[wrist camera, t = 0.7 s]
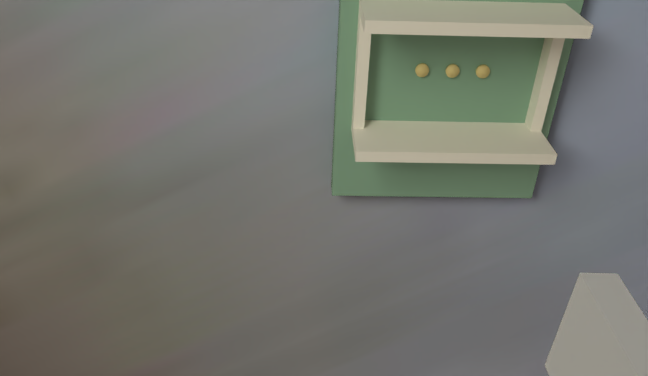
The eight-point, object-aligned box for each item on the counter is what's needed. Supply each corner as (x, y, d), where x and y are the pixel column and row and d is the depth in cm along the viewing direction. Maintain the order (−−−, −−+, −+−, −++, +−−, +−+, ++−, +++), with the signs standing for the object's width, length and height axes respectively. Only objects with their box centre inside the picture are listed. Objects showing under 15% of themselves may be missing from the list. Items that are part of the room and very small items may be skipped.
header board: (344, -106, 28) (350, -90, 24) (598, -98, 28) (645, -81, 24) (331, 184, 36) (334, 231, 32) (525, 187, 37) (551, 233, 33)
